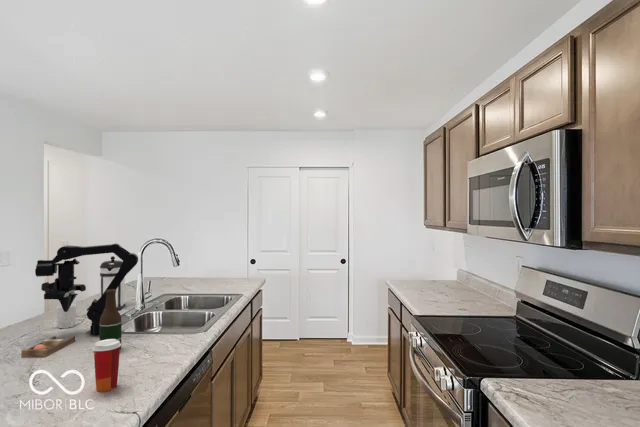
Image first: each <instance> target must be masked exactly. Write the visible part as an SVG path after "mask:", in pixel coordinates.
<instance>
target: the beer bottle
mask: <svg viewBox="0 0 640 427" xmlns="http://www.w3.org/2000/svg"><path fill="white" fill-rule="evenodd" d="M115 293H116V290H115V289H108V290H106V305H105V310H104V312H103V313H102V315H101V318H100V334H99V336H98V337H99V338H98V339H99V341H102V340H106V339H117V340H119V341H120V343H121V344H122V324H123V323H122V322H123V321H122V315H121V314H120V312H119V311H118V309H117V308H116V296H115ZM120 350H122V345H121V346H120Z"/></svg>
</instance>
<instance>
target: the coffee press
mask: <svg viewBox="0 0 640 427" xmlns="http://www.w3.org/2000/svg"><path fill="white" fill-rule="evenodd" d="M115 259H116V257H115V256H114V255H113V256H110V260H106V261H103V262H101V263H100V265H99V269H100V272H99V278H100V280H99V285H100V286H99V287H100V288H99V294H100V296H99V298H100V297H101V296H102V295H103V293H104V292H105V290H106V289H107V287H108V286H109V284H110V283H111V282H112V280H113V279H114V277H115V276H116V274H117V273H118V271H119V269H120V267H121V264H122V262H123V260H120V259H119V260H115ZM125 277H126V276H125ZM125 277H124V279H123V280H122V282H121V283H120V285H119V286H118V288H117V289H116V293H115V296H116V308H117V311H118V312H119V311H122V310H123V307H126V304H125Z"/></svg>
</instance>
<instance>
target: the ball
mask: <svg viewBox="0 0 640 427" xmlns="http://www.w3.org/2000/svg"><path fill="white" fill-rule="evenodd" d="M36 345H37V344H36ZM34 346H35V345H34ZM34 349H46V347H45V346H44V345H42V344H40V345H37V346H35V347H34Z"/></svg>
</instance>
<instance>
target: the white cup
mask: <svg viewBox="0 0 640 427" xmlns="http://www.w3.org/2000/svg"><path fill="white" fill-rule="evenodd" d="M76 314H77V304H76V303H72V304H71V306H70V308H69V310H68V311H67V312H64V310H63V308H62V306H61V304H60V305H57V306H56V322H57V328H58V329H60V328H64V329H69V327H70V328H73V327H75V326H76V317H77V315H76Z"/></svg>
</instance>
